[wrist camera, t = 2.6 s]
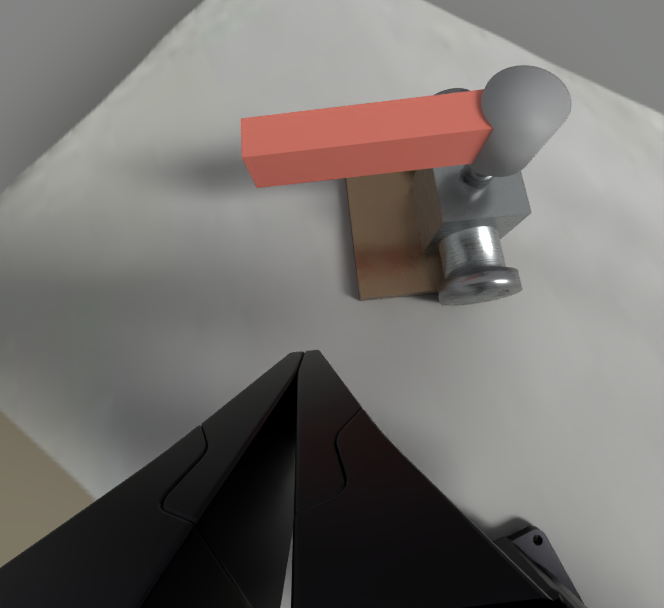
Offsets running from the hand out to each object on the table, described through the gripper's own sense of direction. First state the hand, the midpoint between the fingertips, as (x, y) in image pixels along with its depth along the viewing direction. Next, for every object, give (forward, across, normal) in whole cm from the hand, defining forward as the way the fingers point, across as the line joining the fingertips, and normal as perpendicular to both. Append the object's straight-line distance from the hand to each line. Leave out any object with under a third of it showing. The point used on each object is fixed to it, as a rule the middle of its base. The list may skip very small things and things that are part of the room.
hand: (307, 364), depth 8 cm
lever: (+9, +4, +4) cm, 11 cm away
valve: (+14, +7, 0) cm, 16 cm away
